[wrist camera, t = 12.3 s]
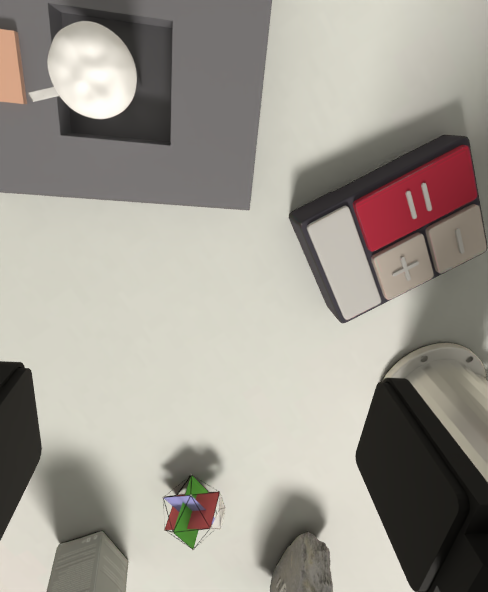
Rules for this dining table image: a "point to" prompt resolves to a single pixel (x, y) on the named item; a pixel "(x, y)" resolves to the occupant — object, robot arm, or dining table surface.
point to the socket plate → (138, 103)
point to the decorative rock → (303, 567)
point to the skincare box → (88, 566)
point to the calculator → (393, 227)
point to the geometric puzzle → (193, 512)
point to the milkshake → (91, 71)
